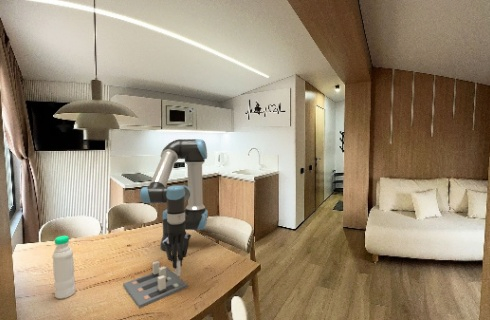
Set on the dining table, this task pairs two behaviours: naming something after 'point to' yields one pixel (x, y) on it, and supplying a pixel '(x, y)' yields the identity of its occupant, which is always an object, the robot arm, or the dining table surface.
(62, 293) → the water bottle
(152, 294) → the panel
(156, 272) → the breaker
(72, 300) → the dining table surface
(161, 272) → the breaker
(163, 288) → the breaker
